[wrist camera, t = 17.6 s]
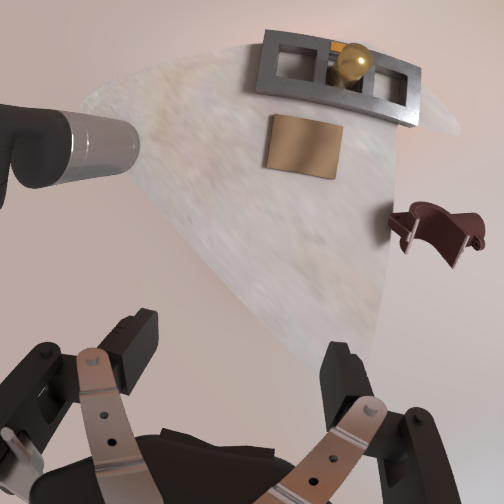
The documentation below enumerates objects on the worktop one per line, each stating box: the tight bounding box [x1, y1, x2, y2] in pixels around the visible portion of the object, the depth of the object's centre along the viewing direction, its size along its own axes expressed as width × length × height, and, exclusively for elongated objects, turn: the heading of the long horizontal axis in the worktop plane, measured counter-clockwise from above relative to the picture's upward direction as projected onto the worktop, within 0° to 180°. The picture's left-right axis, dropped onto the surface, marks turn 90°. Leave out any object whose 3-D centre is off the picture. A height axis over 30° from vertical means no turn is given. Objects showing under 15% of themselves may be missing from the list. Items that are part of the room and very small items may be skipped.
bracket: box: [388, 202, 485, 269], centre depth 37 cm, size 6×17×10 cm, turn 94°
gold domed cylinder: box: [328, 43, 373, 90], centre depth 31 cm, size 4×4×10 cm
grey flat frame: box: [256, 30, 421, 128], centre depth 34 cm, size 24×10×3 cm, turn 82°
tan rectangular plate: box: [267, 114, 343, 179], centre depth 39 cm, size 10×8×1 cm
